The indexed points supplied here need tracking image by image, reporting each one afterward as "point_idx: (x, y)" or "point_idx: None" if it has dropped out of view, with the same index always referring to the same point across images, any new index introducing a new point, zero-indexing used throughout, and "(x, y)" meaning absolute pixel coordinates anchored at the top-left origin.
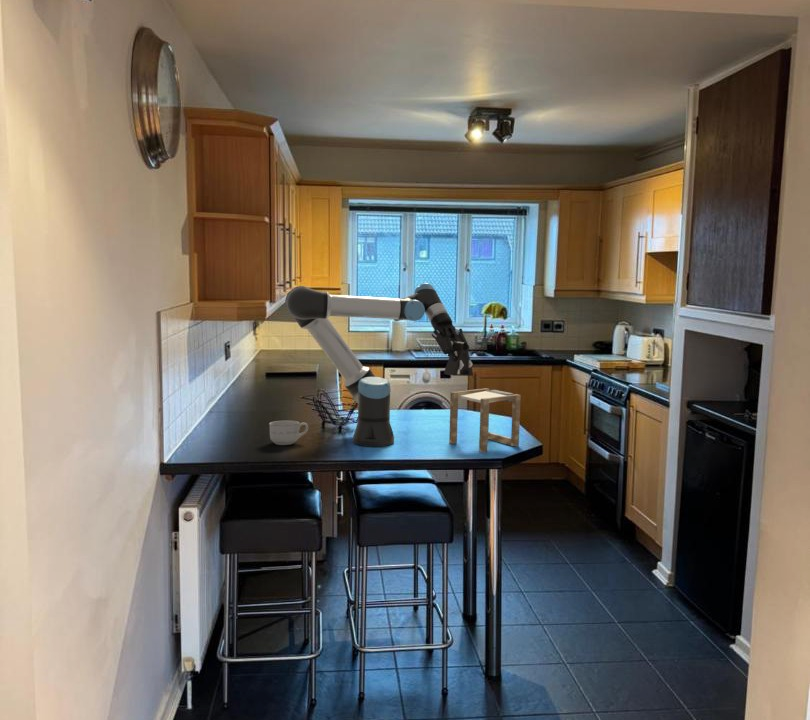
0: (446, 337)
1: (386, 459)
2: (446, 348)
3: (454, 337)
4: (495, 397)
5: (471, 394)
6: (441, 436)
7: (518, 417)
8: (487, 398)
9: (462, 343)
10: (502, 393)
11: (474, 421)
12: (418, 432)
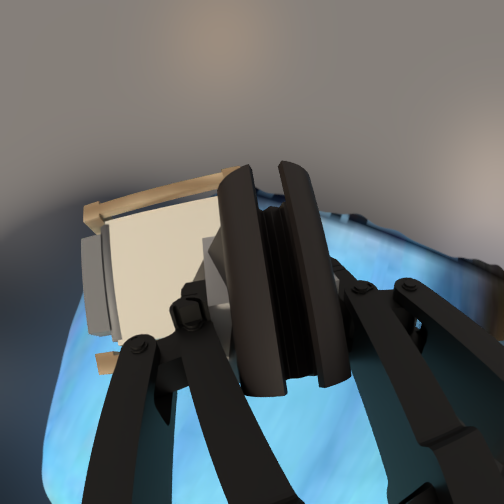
0: (457, 428)
1: (423, 252)
2: (425, 287)
3: (297, 500)
4: (183, 185)
5: None
6: (257, 409)
7: None
8: (220, 177)
9: (302, 174)
10: (102, 263)
11: None
12: (293, 459)
